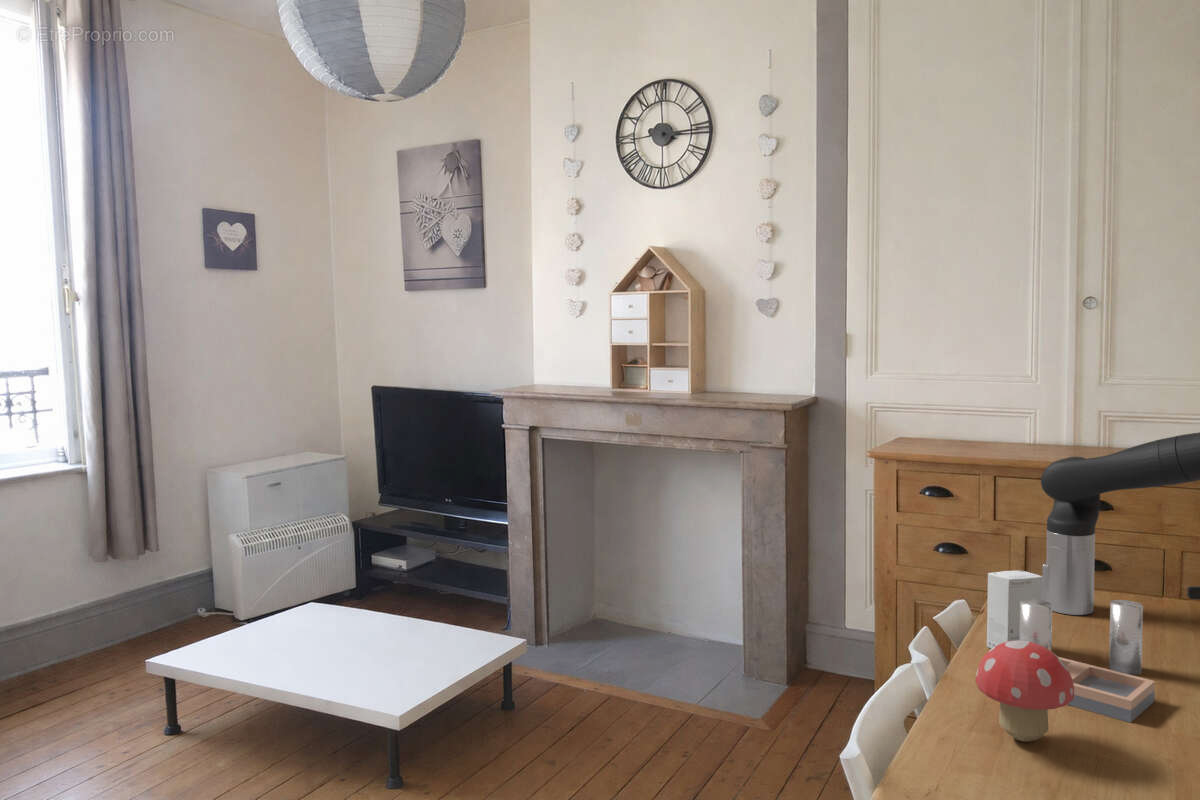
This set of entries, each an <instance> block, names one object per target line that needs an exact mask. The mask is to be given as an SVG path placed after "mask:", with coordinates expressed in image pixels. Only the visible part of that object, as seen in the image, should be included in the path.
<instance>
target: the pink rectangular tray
mask: <svg viewBox="0 0 1200 800" xmlns="http://www.w3.org/2000/svg"><path fill="white" fill-rule="evenodd" d="M1057 657H1058V658H1059V659H1060V660H1061V661H1062V662H1063V664H1064V665H1065V666H1066V668H1067V669H1068V671H1069V673H1070V675H1071V677H1072V680H1073V684H1074V698H1073V700H1072V701H1071V702H1070V703H1068V704H1067V705H1068V706H1072V707H1075V708H1078V709H1082V710H1086V711H1089V712H1092V713H1095V714H1099V715H1103V716H1107V717H1110V718H1113V719H1117V720H1120V721H1123V722H1128V723H1130V724H1131V723H1132V722H1133V721H1134V720H1136V719H1137V718H1138V717H1139V716H1140V715H1141V714H1142V713H1144V712H1145V711H1146V710H1147V708H1149V707H1150V706H1152V704H1153V703H1154V702H1155V694H1156V693H1155V691H1156V690H1155V684H1156V681H1155V680H1152V679H1148V678H1144V677H1140V676H1136V675H1128V674H1125V673H1121V672H1117V671H1113V670H1111V669H1110V668H1104V667H1100V666H1096V665H1092V664H1089V663H1086V662H1085V663H1084V662H1081V661H1076V660H1073V659H1068V658H1064V657H1061V656H1060V657H1059V656H1057ZM1067 705H1066V706H1067Z"/></svg>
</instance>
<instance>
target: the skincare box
mask: <svg viewBox="0 0 1200 800" xmlns="http://www.w3.org/2000/svg"><path fill="white" fill-rule="evenodd" d="M1042 588H1043V577H1042V575H1039V574H1037V573H1032V572H1029V571H1025V570H1022V569H1021V570H1002V571H996V572H995V571H994V572H988V573H987V611H986V612H987V616H986V617H987V618H986V620H987V622H986V646H987V648H989V649H990V650H991V649H992V648H994V647H996V646H997V645H999V644H1002V643H1005V642H1009V641H1018V640H1020V601H1022V600H1027V599H1033V600H1041V601H1042Z"/></svg>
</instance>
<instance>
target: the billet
mask: <svg viewBox="0 0 1200 800" xmlns="http://www.w3.org/2000/svg"><path fill="white" fill-rule="evenodd" d="M1109 603H1110V604H1109V606H1110V608H1109V609H1110V610H1109V650H1108V651H1109V652H1108V653H1109V655H1108V656H1109V659H1108V667H1109V668H1108V669H1109V670H1113V671H1117V672H1121V673H1125V674H1128V675H1132V676H1136V675H1140V674H1141V673H1142V671H1143V670H1142V669H1143V667H1142V663H1143V656H1142V655H1143V624H1144V623H1143V619H1144V618H1143V616H1144V612H1143V611H1144V605H1143V604H1142V603H1139V602H1138V601H1133V600H1126V599H1114V600H1111V601H1110V602H1109Z"/></svg>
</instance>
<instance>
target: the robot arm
mask: <svg viewBox="0 0 1200 800" xmlns="http://www.w3.org/2000/svg"><path fill="white" fill-rule="evenodd" d="M1198 481H1200V432H1193V433H1185V434H1180V435H1175V436H1170V437H1166V438H1165V437H1164V438H1160V439H1156V440H1153V441H1149V442H1144V443H1141V444H1137V445H1135V446H1131V447H1129V448H1126V449H1123V450H1119V451H1117V452H1113V453H1111V454H1108V455H1107V454H1106V455H1101V456H1096V457H1089V458H1085V457H1082V456H1070V457H1066V458H1061V459H1058V460H1055V461H1054V462H1052V463H1050V464H1048V466H1046V468H1045V469H1044V470H1043V472H1042V474H1041V476H1040V485H1041V489H1042V491H1043V492H1044V493H1045V494H1046V495H1047V496H1048V497H1049V498H1051V499H1053V500H1054V501H1053V505H1052V508H1051V511H1050V513H1049V514H1048V516H1047V519H1046V562H1045V563H1043V564H1042V573H1041V574H1042V575H1041V576H1042V577H1043V588H1042V601H1046V602H1048V603H1050V604H1052V612H1055V613H1060V614H1065V615H1072V616H1085V615H1087V616H1088V615H1090V614H1092V613H1093V612H1094V605H1095V559H1096V558H1095V556H1096V555H1095V554H1096V553H1095V552H1096V551H1095V550H1096V548H1095V547H1096V527H1097V526H1096V525H1097V521H1098V519H1099V515H1100V505H1101V504H1100V503H1101V501H1100V500H1101V494H1104V493H1110V492H1115V491H1121V490H1124V491H1125V490H1136V489H1138V490H1139V489H1148V488H1157V487H1165V486H1167V487H1168V486H1173V485H1179V484H1186V483H1187V484H1188V483H1192V482H1198ZM1186 590H1187V591H1186V592H1187V593H1186V595H1187V598H1188V599H1191V600H1200V586H1199V585H1198V586H1197V585H1196V586H1192V585H1191V586H1187V589H1186Z"/></svg>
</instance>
